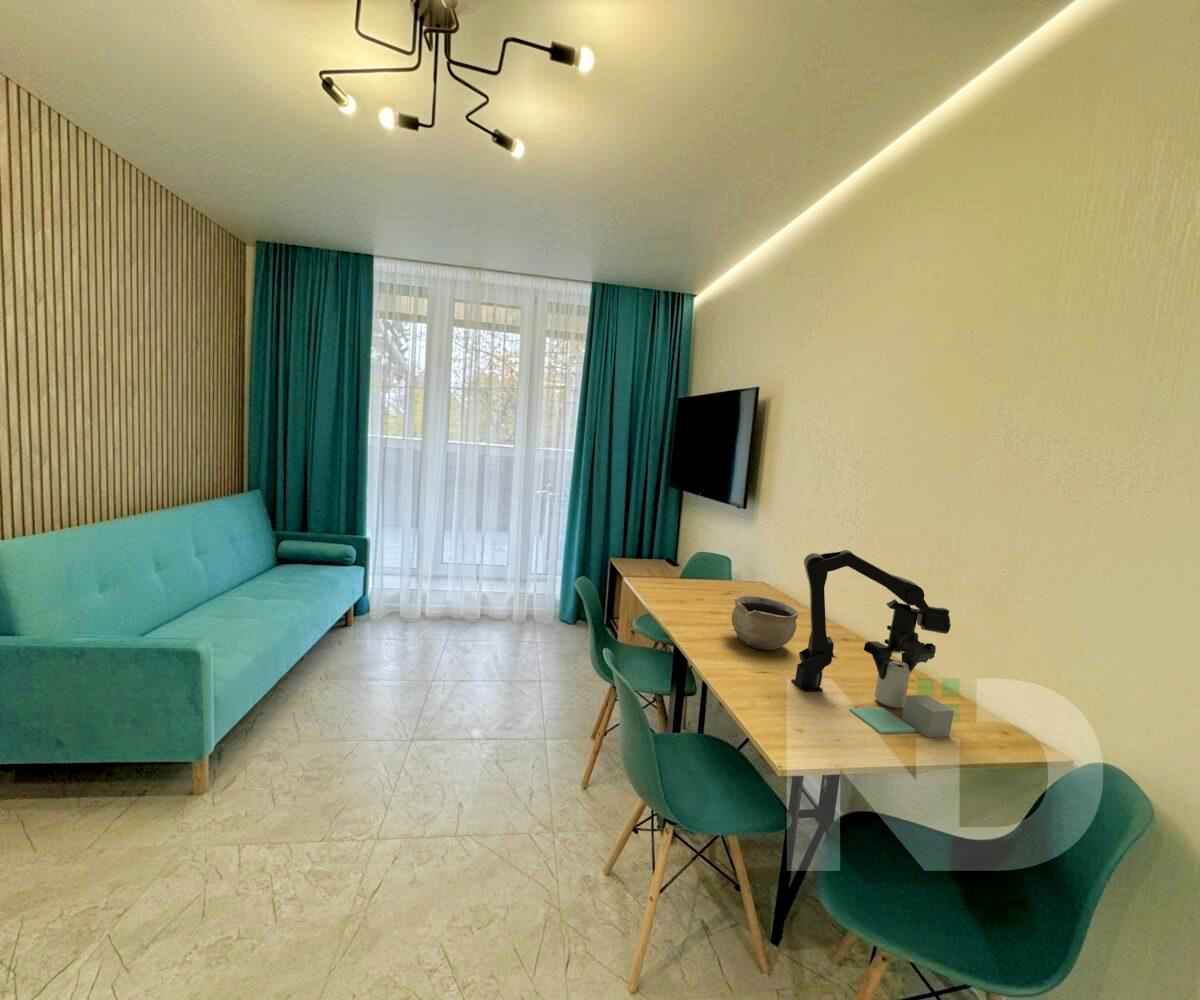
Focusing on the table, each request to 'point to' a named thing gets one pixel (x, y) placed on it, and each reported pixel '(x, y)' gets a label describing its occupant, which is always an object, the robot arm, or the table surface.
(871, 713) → the mat
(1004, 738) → the table surface
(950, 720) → the unit
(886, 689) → the can
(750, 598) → the ceramic bowl
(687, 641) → the table surface
